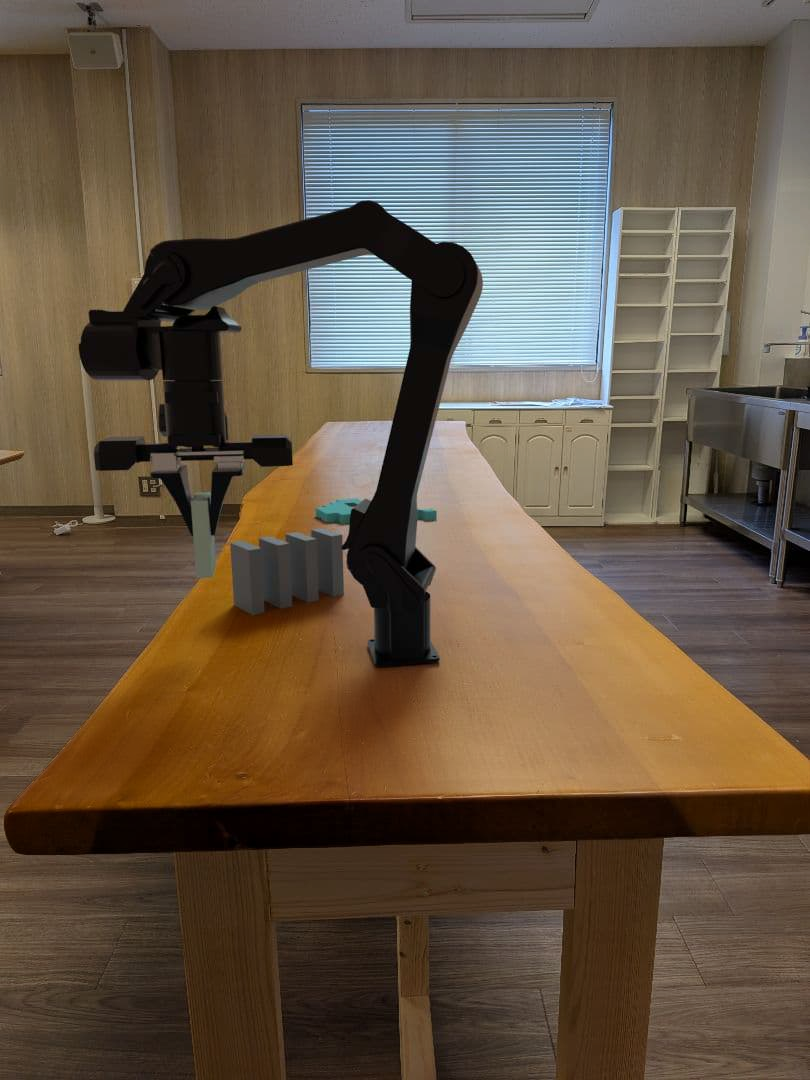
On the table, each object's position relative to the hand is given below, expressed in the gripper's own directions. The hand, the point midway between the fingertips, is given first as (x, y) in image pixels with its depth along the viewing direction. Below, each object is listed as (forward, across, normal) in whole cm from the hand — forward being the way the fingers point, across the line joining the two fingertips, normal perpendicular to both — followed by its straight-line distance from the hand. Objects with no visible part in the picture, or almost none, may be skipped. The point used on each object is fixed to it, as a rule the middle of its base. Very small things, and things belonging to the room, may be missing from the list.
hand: (203, 535), depth 75 cm
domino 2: (+12, -7, -12) cm, 19 cm away
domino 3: (+12, -10, -14) cm, 21 cm away
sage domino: (+4, 0, 0) cm, 4 cm away
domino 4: (+12, -14, -16) cm, 24 cm away
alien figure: (+12, -26, -66) cm, 72 cm away
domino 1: (+12, -4, -11) cm, 16 cm away
